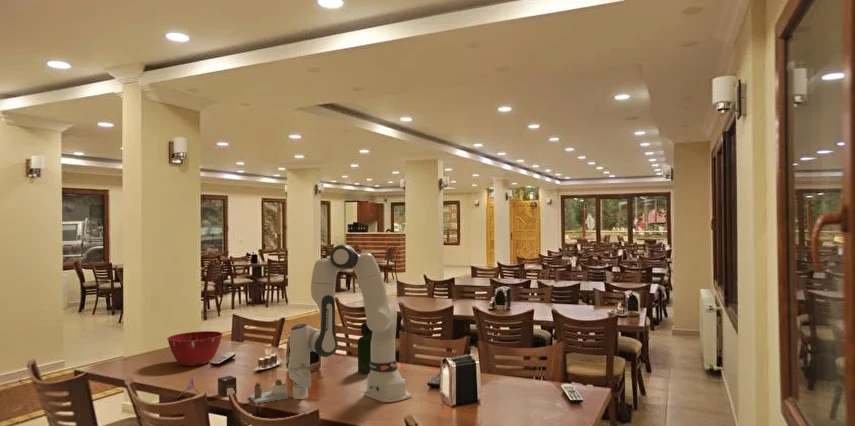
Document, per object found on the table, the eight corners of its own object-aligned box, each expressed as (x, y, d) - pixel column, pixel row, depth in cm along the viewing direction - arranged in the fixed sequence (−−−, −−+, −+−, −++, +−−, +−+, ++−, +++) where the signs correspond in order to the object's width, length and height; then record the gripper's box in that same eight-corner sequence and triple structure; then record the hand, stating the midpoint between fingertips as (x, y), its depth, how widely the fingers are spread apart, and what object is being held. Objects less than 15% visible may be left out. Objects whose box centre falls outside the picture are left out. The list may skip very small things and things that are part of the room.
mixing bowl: (167, 360, 310) (167, 333, 311) (220, 354, 322) (220, 328, 323) (166, 372, 285) (166, 343, 285) (224, 365, 297) (224, 337, 297)
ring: (309, 397, 239) (309, 386, 239) (295, 400, 236) (295, 388, 236) (304, 394, 244) (304, 383, 244) (291, 396, 241) (291, 385, 241)
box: (229, 391, 251) (229, 375, 251) (237, 393, 247) (236, 377, 247) (217, 394, 246) (217, 378, 246) (224, 397, 242) (224, 380, 242)
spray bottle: (379, 368, 285) (379, 321, 285) (376, 374, 275) (375, 324, 275) (360, 368, 286) (359, 321, 286) (355, 374, 276) (355, 324, 276)
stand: (289, 398, 239) (289, 381, 239) (255, 404, 231) (255, 387, 231) (281, 391, 248) (281, 375, 248) (249, 397, 240) (249, 380, 241)
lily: (196, 391, 254) (185, 375, 253) (214, 384, 250) (202, 367, 248) (179, 407, 243) (167, 390, 242) (197, 400, 239) (185, 382, 237)
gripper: (314, 365, 233) (315, 398, 233) (299, 356, 250) (299, 386, 250) (300, 367, 230) (300, 400, 229) (285, 358, 247) (286, 388, 247)
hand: (300, 393), depth 240 cm, fingers closed on ring, 6 cm apart
